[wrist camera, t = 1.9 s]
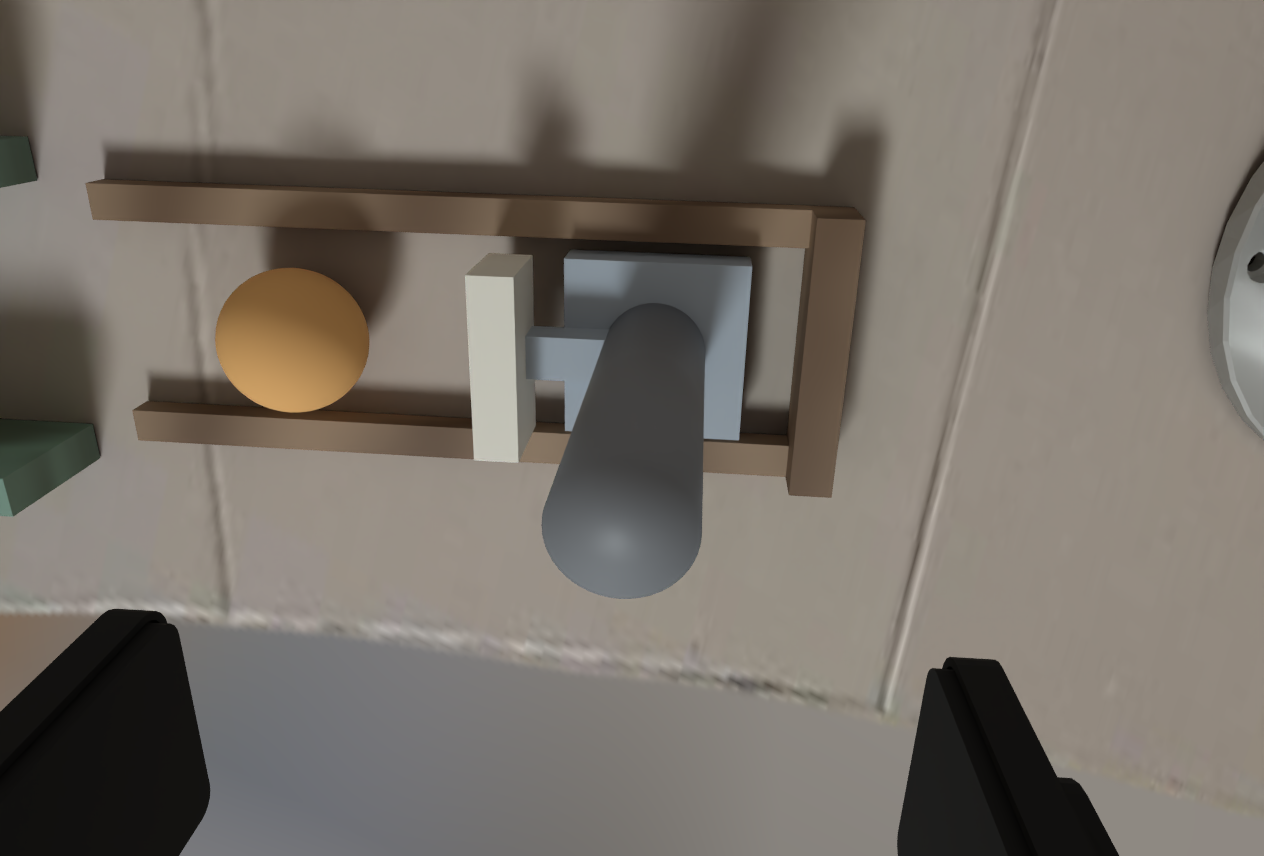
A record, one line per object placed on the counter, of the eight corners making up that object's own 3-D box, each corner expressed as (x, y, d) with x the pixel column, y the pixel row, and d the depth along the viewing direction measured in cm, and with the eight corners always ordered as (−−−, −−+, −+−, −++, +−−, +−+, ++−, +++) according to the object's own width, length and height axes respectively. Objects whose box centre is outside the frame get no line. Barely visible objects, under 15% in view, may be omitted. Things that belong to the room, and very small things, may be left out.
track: (854, 207, 24) (865, 220, 23) (823, 467, 27) (831, 497, 26) (103, 179, 26) (56, 189, 24) (153, 430, 29) (115, 456, 27)
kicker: (750, 257, 25) (777, 404, 15) (737, 424, 27) (754, 658, 17) (496, 246, 25) (349, 382, 15) (501, 411, 27) (375, 631, 17)
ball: (382, 257, 26) (328, 291, 22) (393, 387, 28) (344, 439, 24) (248, 251, 26) (173, 284, 23) (266, 380, 28) (199, 430, 24)
